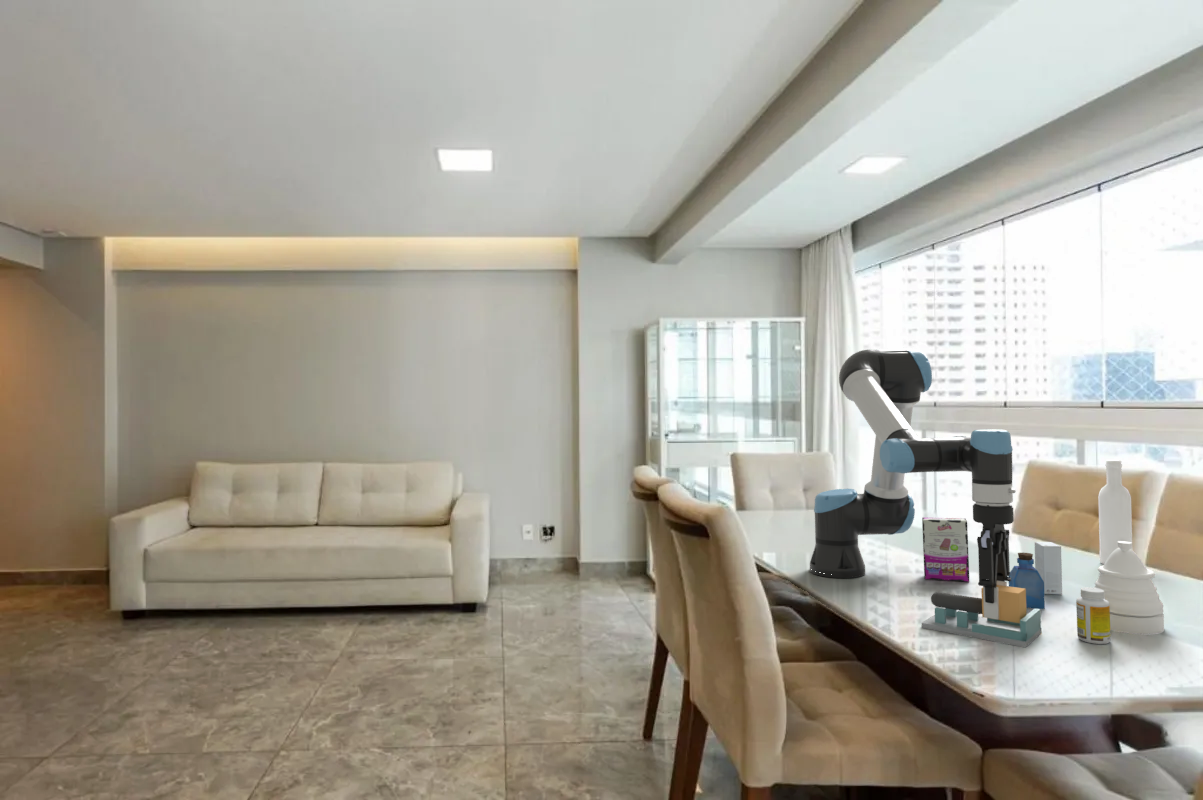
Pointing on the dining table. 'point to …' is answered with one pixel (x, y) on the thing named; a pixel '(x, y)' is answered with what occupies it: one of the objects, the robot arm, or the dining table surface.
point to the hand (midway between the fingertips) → (995, 614)
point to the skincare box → (1049, 566)
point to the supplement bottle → (1093, 616)
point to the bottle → (1114, 511)
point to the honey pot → (1130, 593)
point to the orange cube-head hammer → (1009, 603)
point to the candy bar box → (945, 549)
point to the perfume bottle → (1028, 581)
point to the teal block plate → (986, 626)
